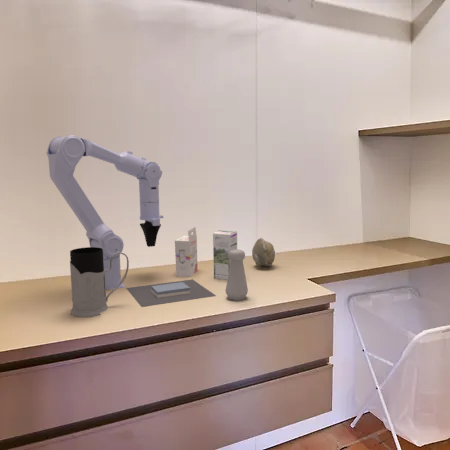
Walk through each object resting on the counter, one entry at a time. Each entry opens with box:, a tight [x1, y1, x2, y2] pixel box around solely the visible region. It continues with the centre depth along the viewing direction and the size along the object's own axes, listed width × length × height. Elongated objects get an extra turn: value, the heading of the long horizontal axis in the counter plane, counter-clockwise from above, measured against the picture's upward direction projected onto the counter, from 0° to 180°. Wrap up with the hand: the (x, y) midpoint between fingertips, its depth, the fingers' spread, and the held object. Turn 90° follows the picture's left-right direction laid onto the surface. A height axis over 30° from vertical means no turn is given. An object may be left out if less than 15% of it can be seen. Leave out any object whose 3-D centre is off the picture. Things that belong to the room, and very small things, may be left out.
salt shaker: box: [224, 248, 249, 302], centre depth 115 cm, size 6×6×13 cm
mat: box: [125, 278, 217, 308], centre depth 122 cm, size 20×18×1 cm
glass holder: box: [69, 246, 130, 318], centre depth 109 cm, size 9×14×15 cm, turn 114°
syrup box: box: [212, 229, 238, 281], centre depth 135 cm, size 6×6×14 cm
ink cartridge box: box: [174, 226, 198, 278], centre depth 141 cm, size 9×5×15 cm, turn 168°
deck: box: [151, 282, 190, 298], centre depth 121 cm, size 9×2×6 cm
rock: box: [251, 237, 276, 268], centre depth 149 cm, size 9×8×10 cm
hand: (151, 246), depth 137 cm, fingers closed
